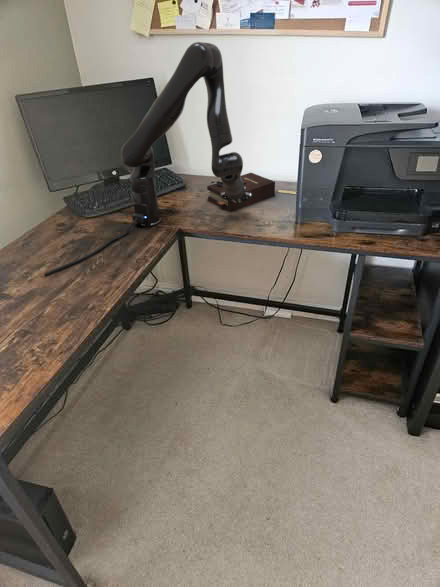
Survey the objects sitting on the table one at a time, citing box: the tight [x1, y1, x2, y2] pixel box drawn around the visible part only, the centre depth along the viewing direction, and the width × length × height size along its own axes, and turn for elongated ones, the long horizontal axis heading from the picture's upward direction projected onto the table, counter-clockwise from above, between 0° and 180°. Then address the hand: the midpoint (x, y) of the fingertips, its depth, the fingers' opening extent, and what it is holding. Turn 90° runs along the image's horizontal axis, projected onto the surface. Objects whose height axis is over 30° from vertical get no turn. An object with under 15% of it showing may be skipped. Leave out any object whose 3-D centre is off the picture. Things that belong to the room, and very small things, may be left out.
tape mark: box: [277, 189, 297, 195], centre depth 184 cm, size 2×9×1 cm, turn 64°
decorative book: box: [206, 172, 276, 213], centre depth 179 cm, size 19×8×30 cm
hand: (238, 203), depth 166 cm, fingers closed
